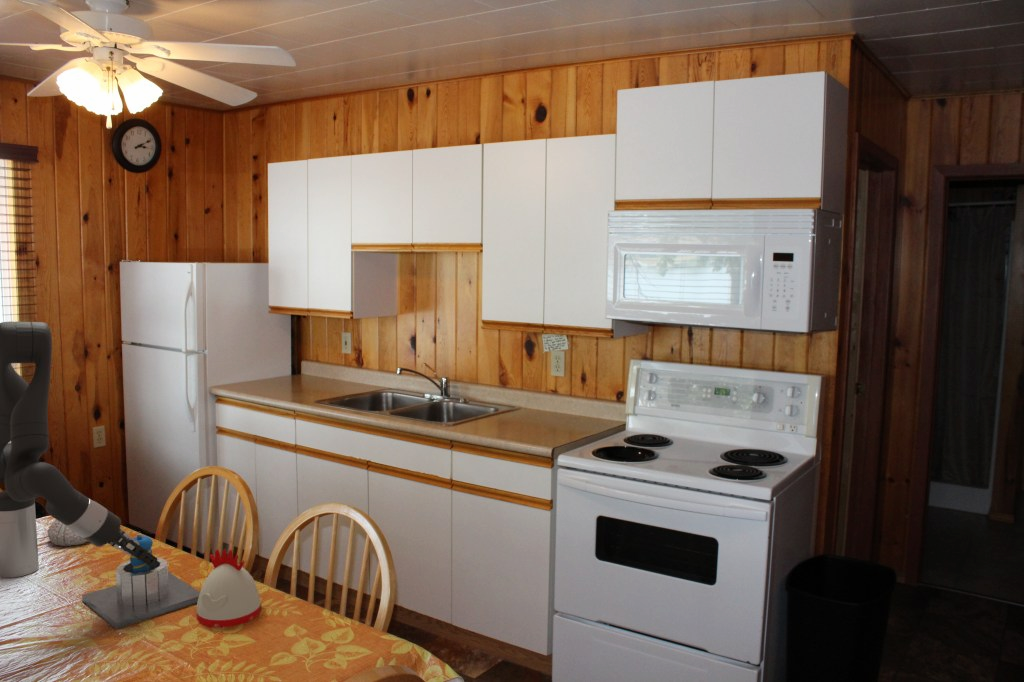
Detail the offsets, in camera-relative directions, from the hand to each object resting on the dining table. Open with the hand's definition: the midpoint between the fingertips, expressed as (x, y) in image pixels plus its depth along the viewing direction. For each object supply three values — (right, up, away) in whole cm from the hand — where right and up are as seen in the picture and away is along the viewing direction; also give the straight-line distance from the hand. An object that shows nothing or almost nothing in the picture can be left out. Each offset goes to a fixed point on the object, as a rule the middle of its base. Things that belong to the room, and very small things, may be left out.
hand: (148, 559), depth 192 cm
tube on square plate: (-1, -10, 0) cm, 10 cm away
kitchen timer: (+21, -11, -6) cm, 24 cm away
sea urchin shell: (-38, -5, +38) cm, 54 cm away
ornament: (-1, -8, 0) cm, 8 cm away
